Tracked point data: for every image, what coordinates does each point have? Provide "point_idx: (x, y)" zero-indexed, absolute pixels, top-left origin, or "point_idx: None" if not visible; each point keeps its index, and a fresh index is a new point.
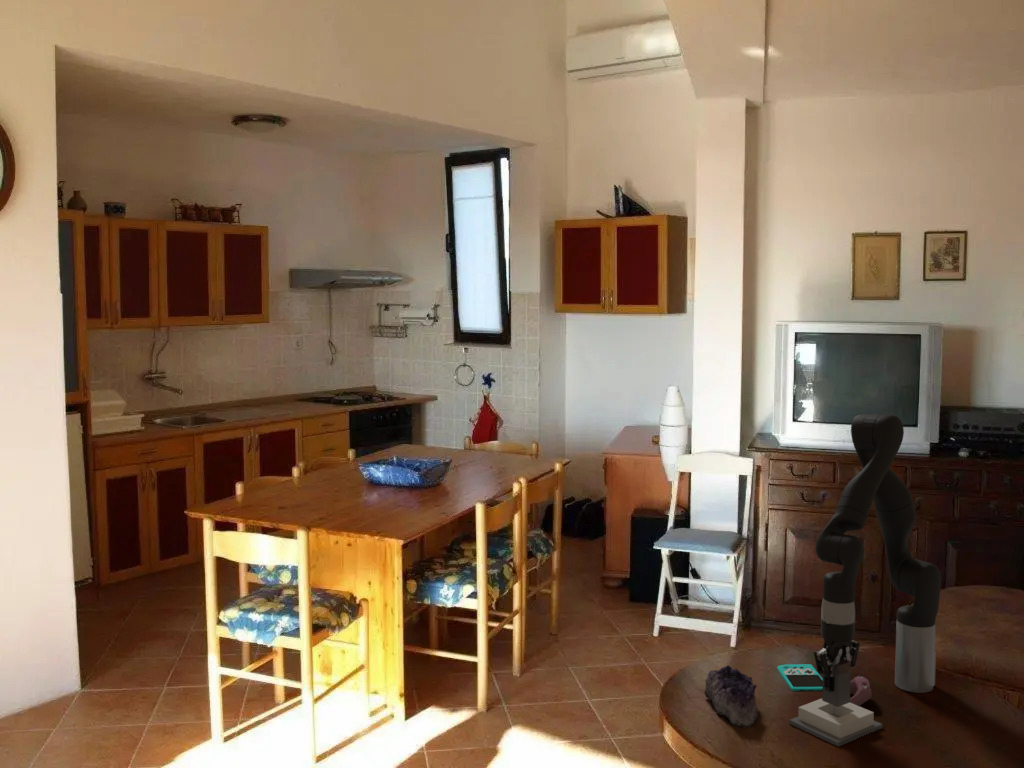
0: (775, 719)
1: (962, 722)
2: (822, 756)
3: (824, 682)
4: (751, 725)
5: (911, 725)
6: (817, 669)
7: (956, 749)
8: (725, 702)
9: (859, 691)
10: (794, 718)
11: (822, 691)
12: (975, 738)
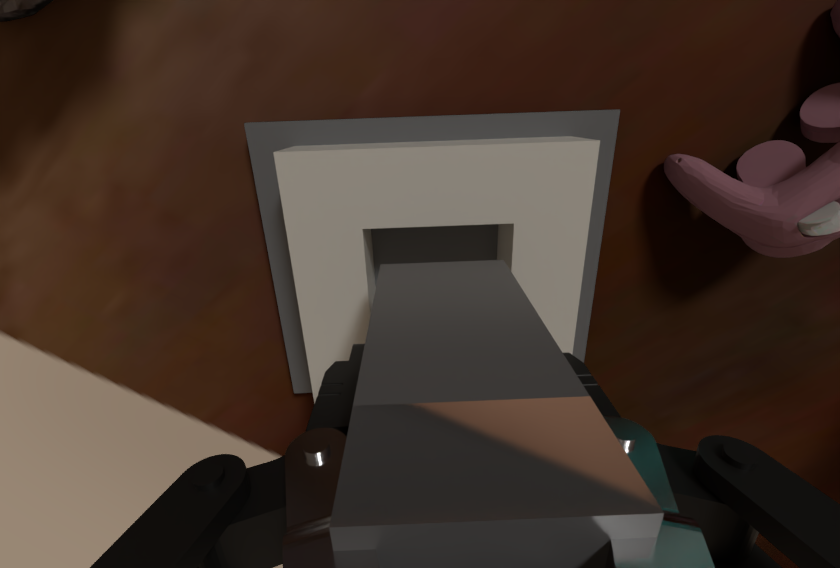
0: (217, 31)
1: (826, 473)
2: (190, 398)
3: (317, 397)
4: (24, 14)
5: (679, 408)
6: (154, 507)
7: None
8: None
9: (765, 213)
10: (282, 127)
11: (376, 288)
12: None
